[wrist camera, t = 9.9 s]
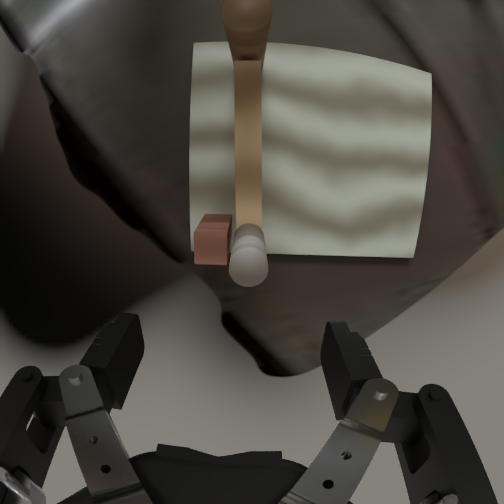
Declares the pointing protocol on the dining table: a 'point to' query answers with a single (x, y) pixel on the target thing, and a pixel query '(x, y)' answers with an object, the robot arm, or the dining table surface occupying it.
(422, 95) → the towel on rod
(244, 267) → the wooden panel
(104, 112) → the dining table surface
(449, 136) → the dining table surface
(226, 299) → the dining table surface
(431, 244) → the dining table surface
